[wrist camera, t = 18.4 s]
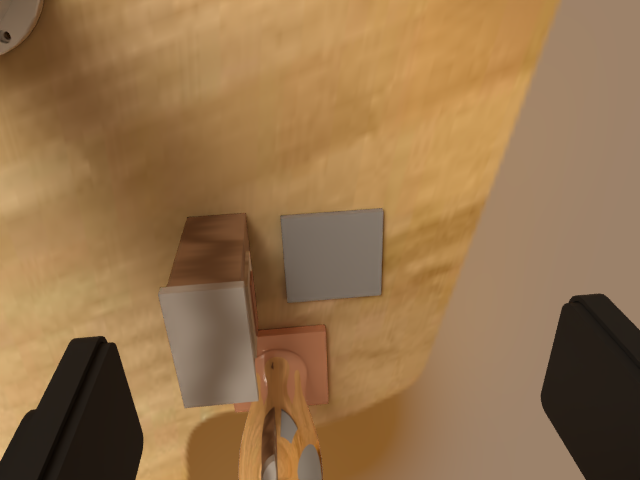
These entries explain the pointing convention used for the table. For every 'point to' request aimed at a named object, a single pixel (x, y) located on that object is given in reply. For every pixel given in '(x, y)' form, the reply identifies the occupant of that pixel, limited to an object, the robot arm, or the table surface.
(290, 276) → the slate grey mat
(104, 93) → the table surface
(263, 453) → the beer glass
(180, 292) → the brown two-tone block
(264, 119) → the table surface
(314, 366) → the terracotta coaster
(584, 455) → the robot arm
